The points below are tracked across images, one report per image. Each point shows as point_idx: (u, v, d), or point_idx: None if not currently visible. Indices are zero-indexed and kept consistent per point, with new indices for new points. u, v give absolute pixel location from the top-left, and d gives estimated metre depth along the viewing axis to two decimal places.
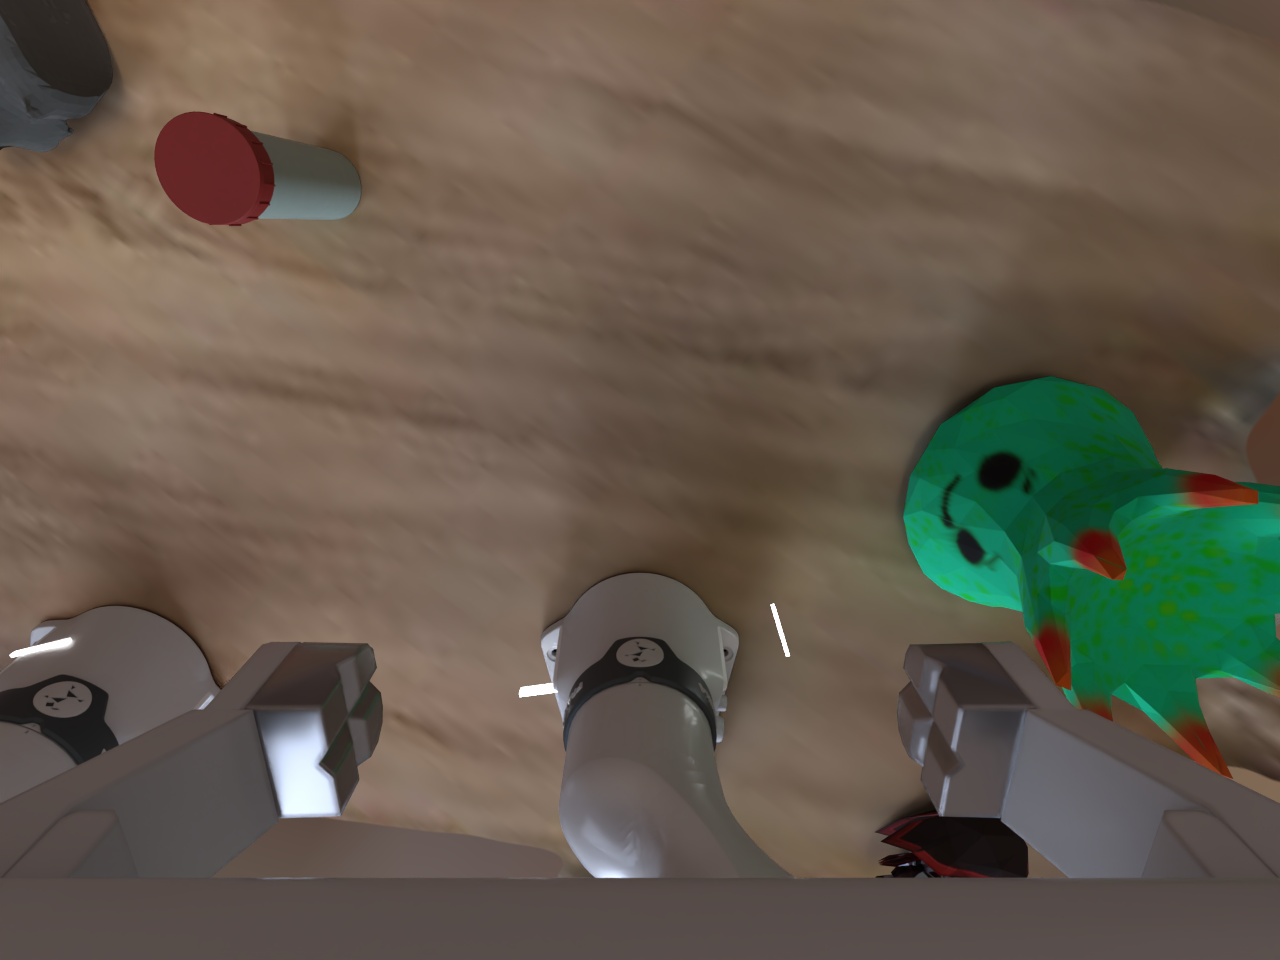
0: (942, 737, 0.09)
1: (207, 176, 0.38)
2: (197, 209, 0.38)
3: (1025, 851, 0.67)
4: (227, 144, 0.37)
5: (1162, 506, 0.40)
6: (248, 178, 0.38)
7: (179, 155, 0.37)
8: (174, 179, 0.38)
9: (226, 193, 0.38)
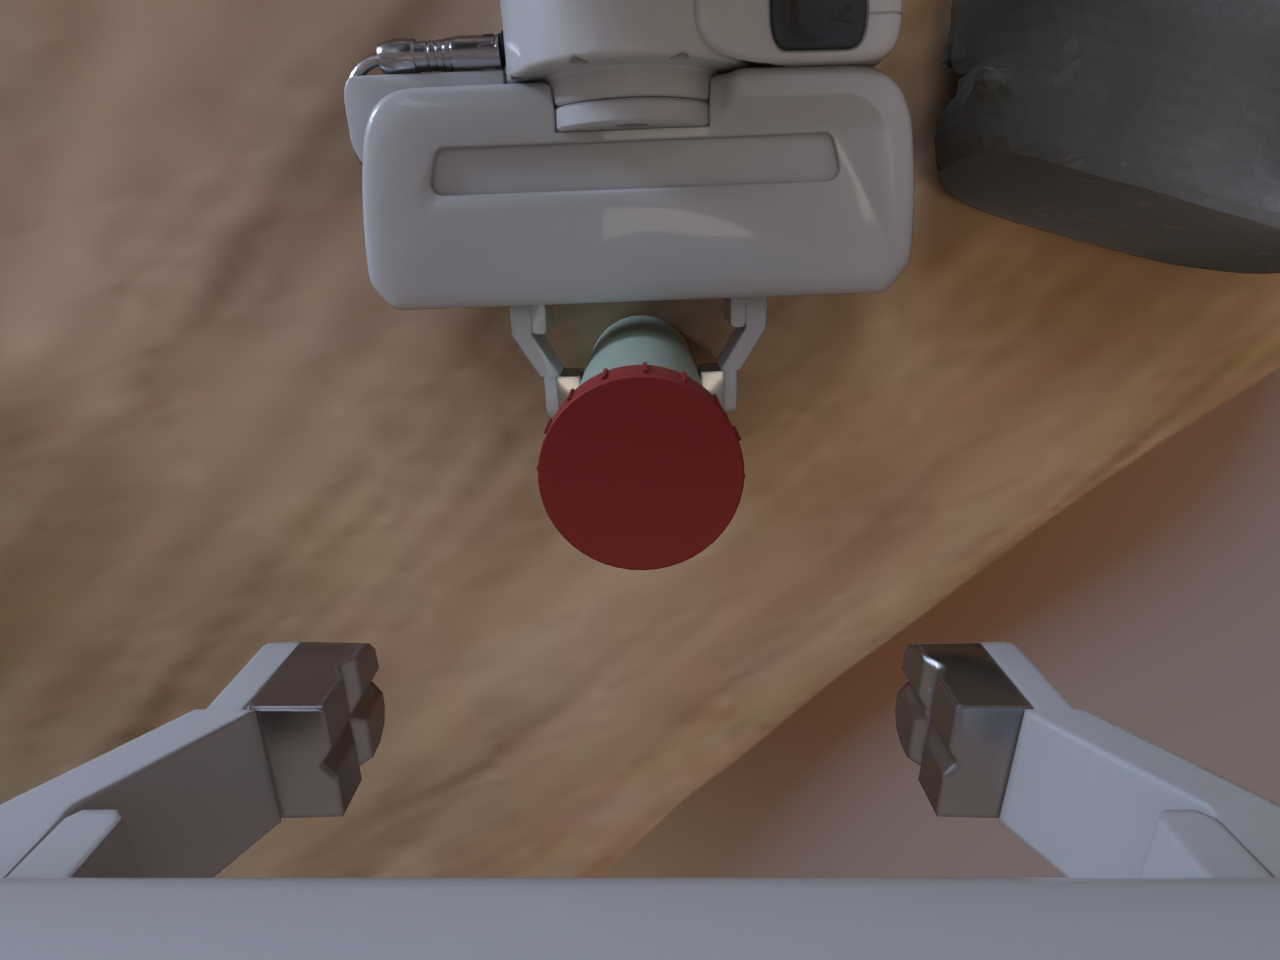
0: (940, 737, 0.09)
1: (631, 470, 0.19)
2: (597, 409, 0.18)
3: None
4: (652, 538, 0.19)
5: None
6: (586, 531, 0.19)
7: (690, 451, 0.19)
8: (664, 412, 0.18)
9: (588, 479, 0.19)
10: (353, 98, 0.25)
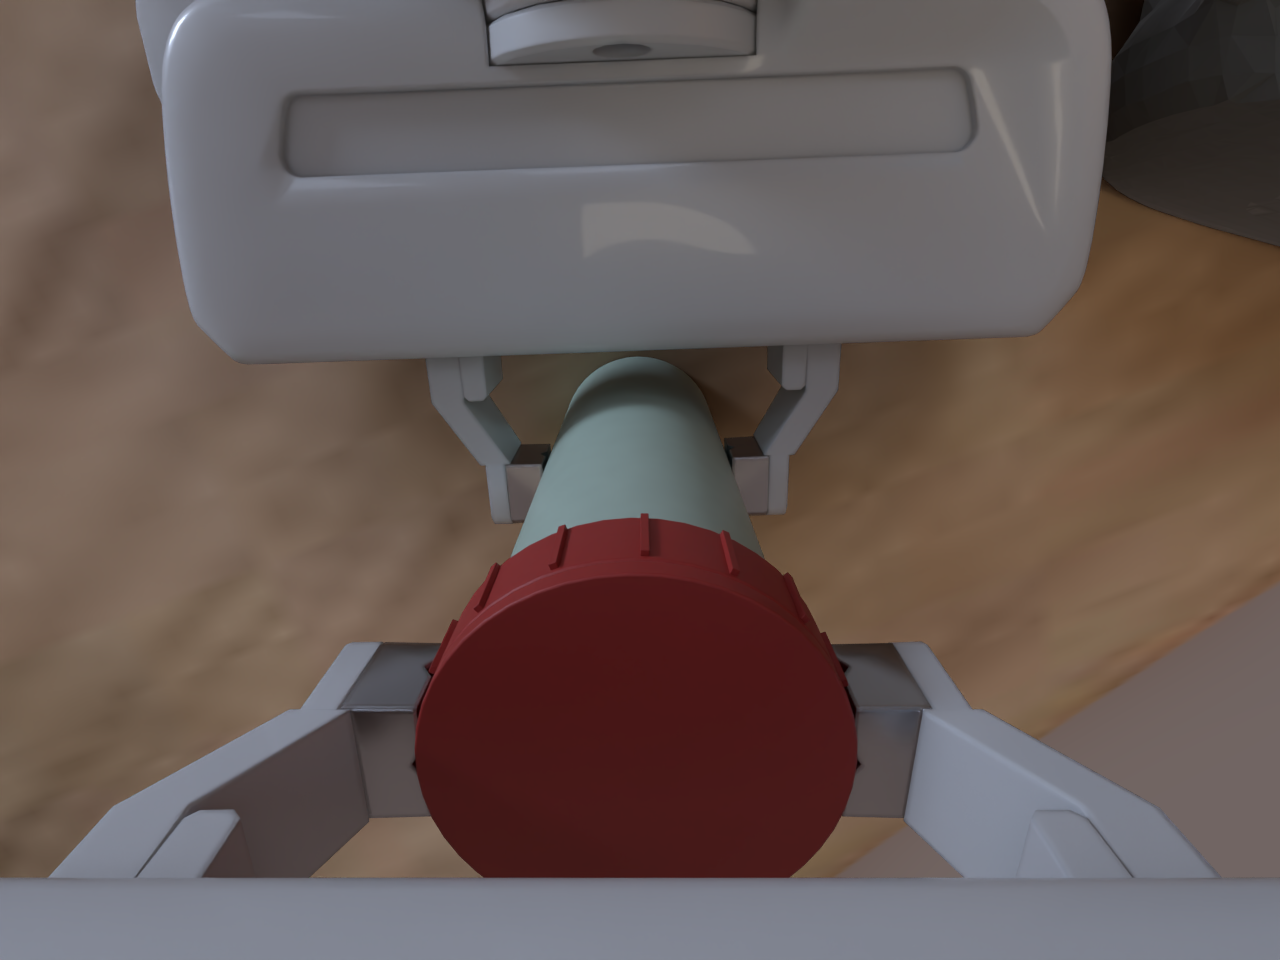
0: None
1: (616, 755, 0.09)
2: (538, 641, 0.08)
3: None
4: (659, 875, 0.09)
5: None
6: (523, 861, 0.09)
7: (743, 721, 0.09)
8: (687, 646, 0.08)
9: (523, 771, 0.09)
10: (151, 12, 0.15)
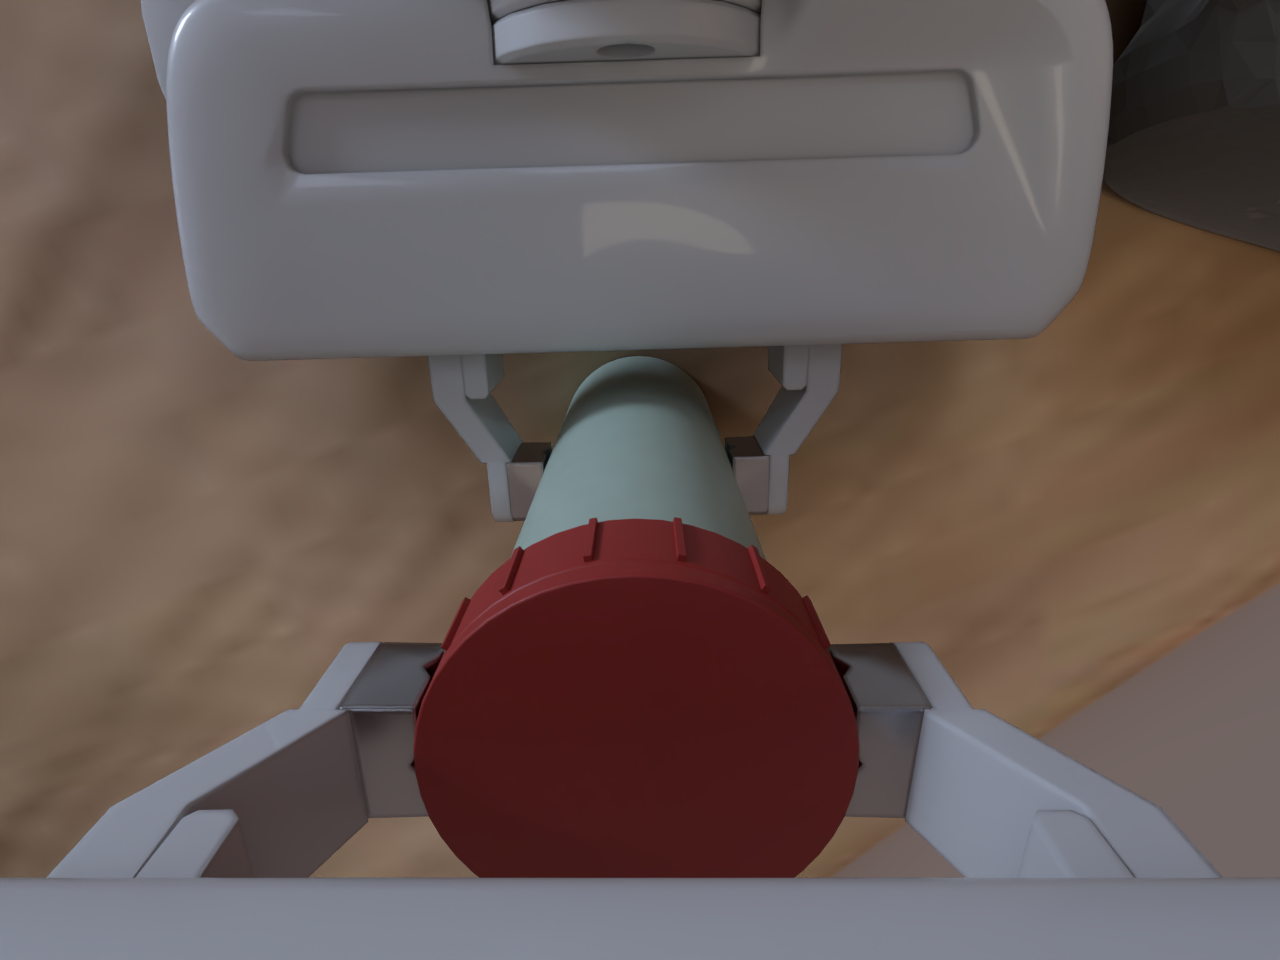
0: None
1: (614, 785, 0.09)
2: (478, 824, 0.09)
3: None
4: (781, 771, 0.09)
5: None
6: (734, 874, 0.09)
7: (589, 678, 0.08)
8: (492, 716, 0.08)
9: (621, 856, 0.09)
10: (156, 9, 0.15)
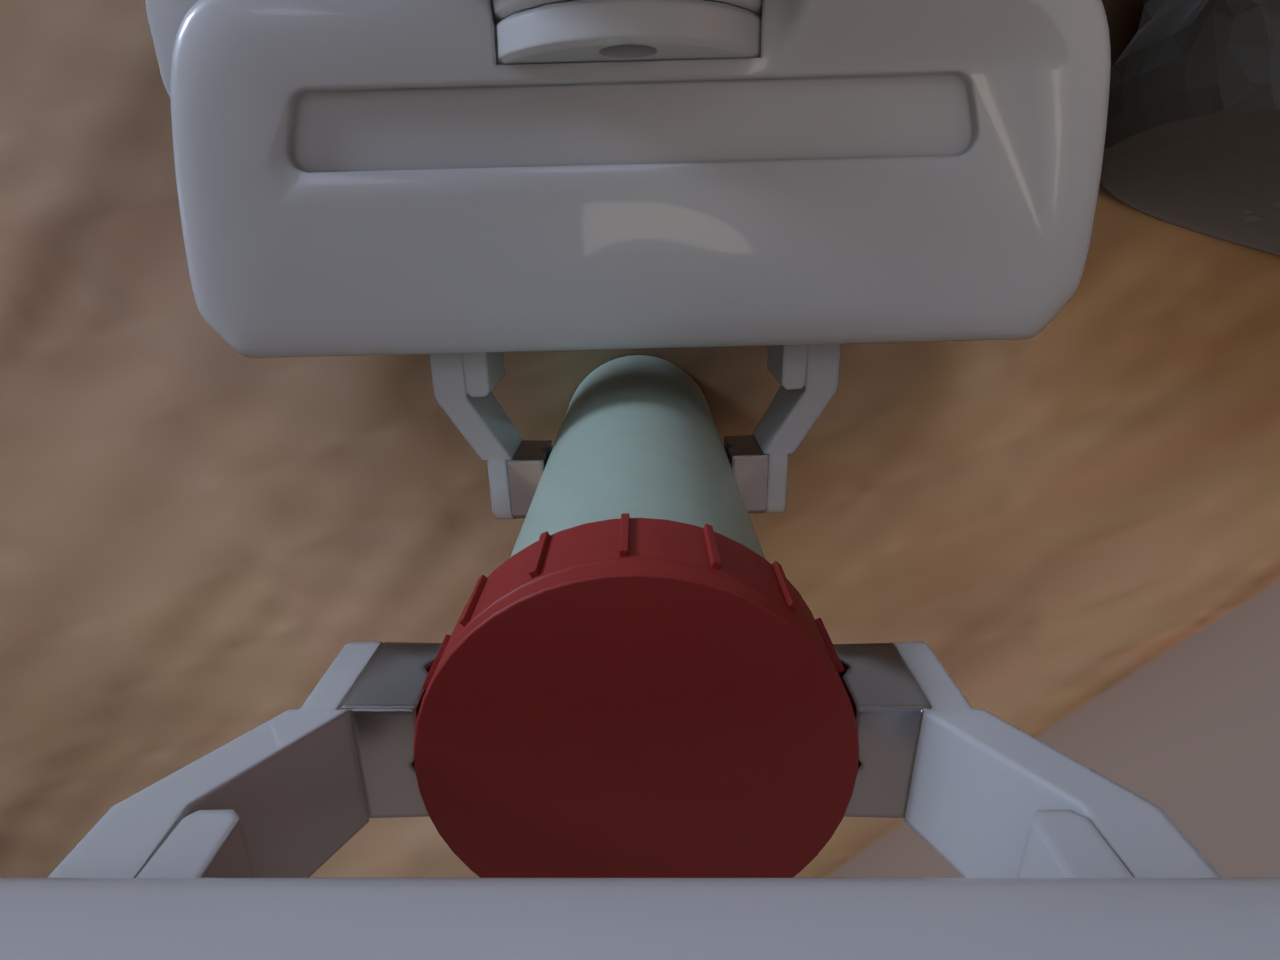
0: None
1: (649, 790, 0.09)
2: None
3: None
4: (656, 650, 0.08)
5: None
6: (794, 703, 0.08)
7: (520, 792, 0.09)
8: (551, 866, 0.09)
9: (742, 796, 0.09)
10: (160, 7, 0.15)
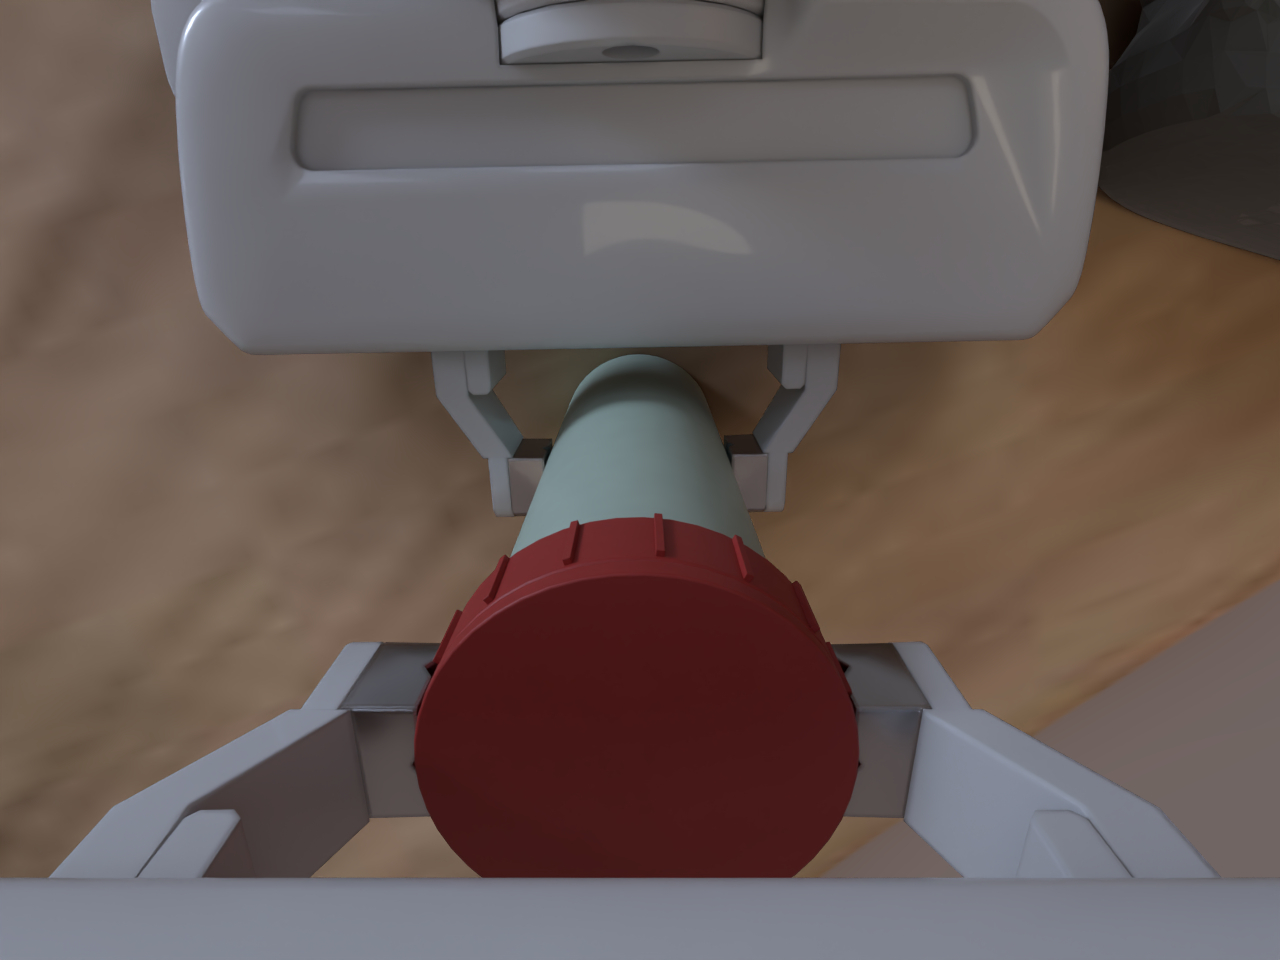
0: None
1: (662, 763, 0.09)
2: (814, 758, 0.09)
3: None
4: (494, 739, 0.09)
5: None
6: (572, 630, 0.08)
7: (645, 860, 0.09)
8: (742, 852, 0.09)
9: (687, 685, 0.08)
10: (166, 5, 0.15)
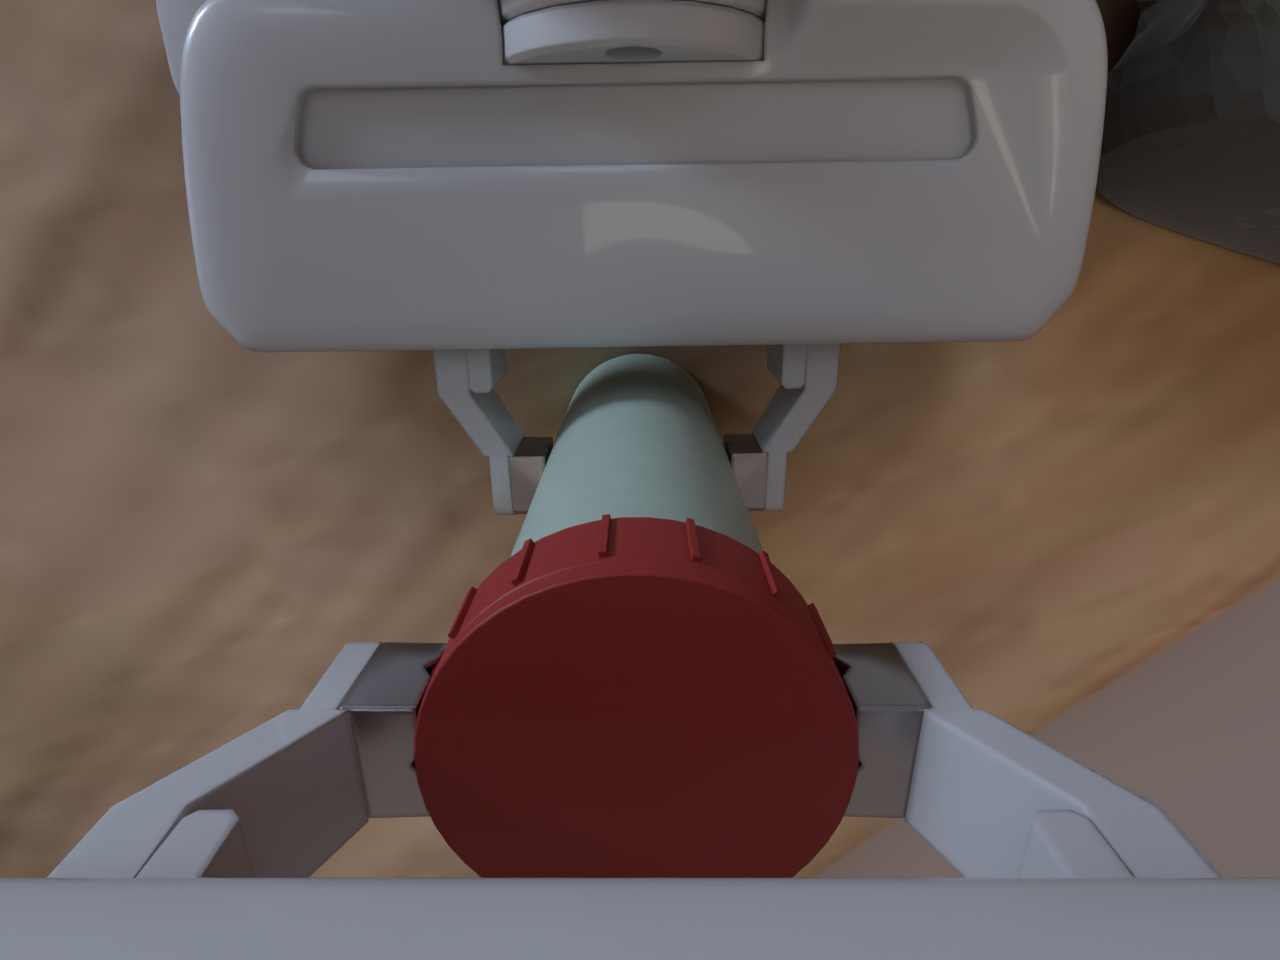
0: None
1: (631, 749, 0.09)
2: (648, 618, 0.08)
3: None
4: (580, 868, 0.09)
5: None
6: (470, 797, 0.09)
7: (756, 778, 0.09)
8: (766, 693, 0.08)
9: (539, 719, 0.08)
10: (170, 4, 0.15)
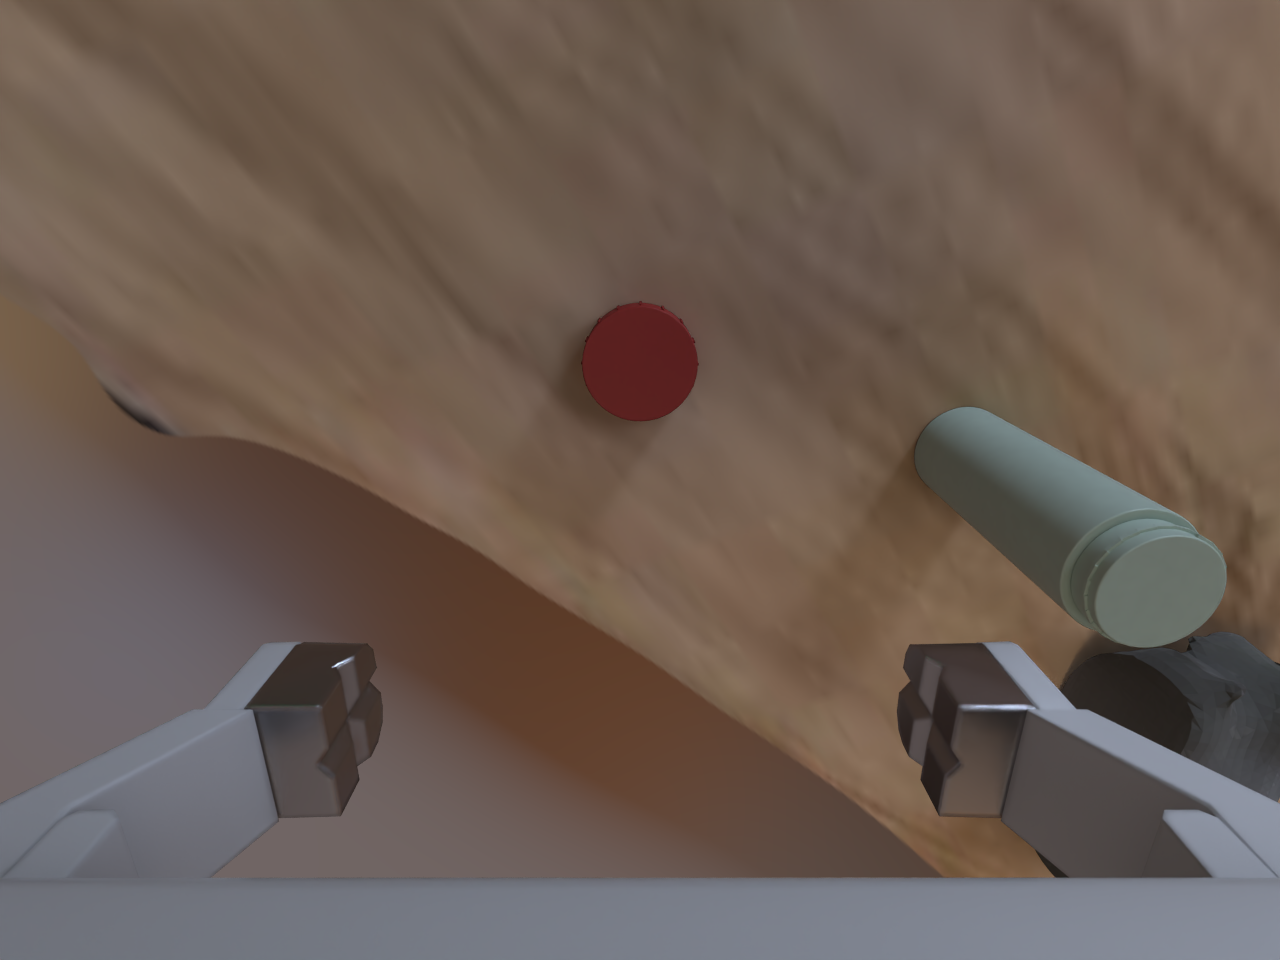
0: (942, 737, 0.09)
1: (632, 365, 0.34)
2: (595, 355, 0.34)
3: None
4: (670, 386, 0.34)
5: None
6: (641, 409, 0.35)
7: (647, 334, 0.33)
8: (620, 329, 0.33)
9: (620, 386, 0.34)
10: None
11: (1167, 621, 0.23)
